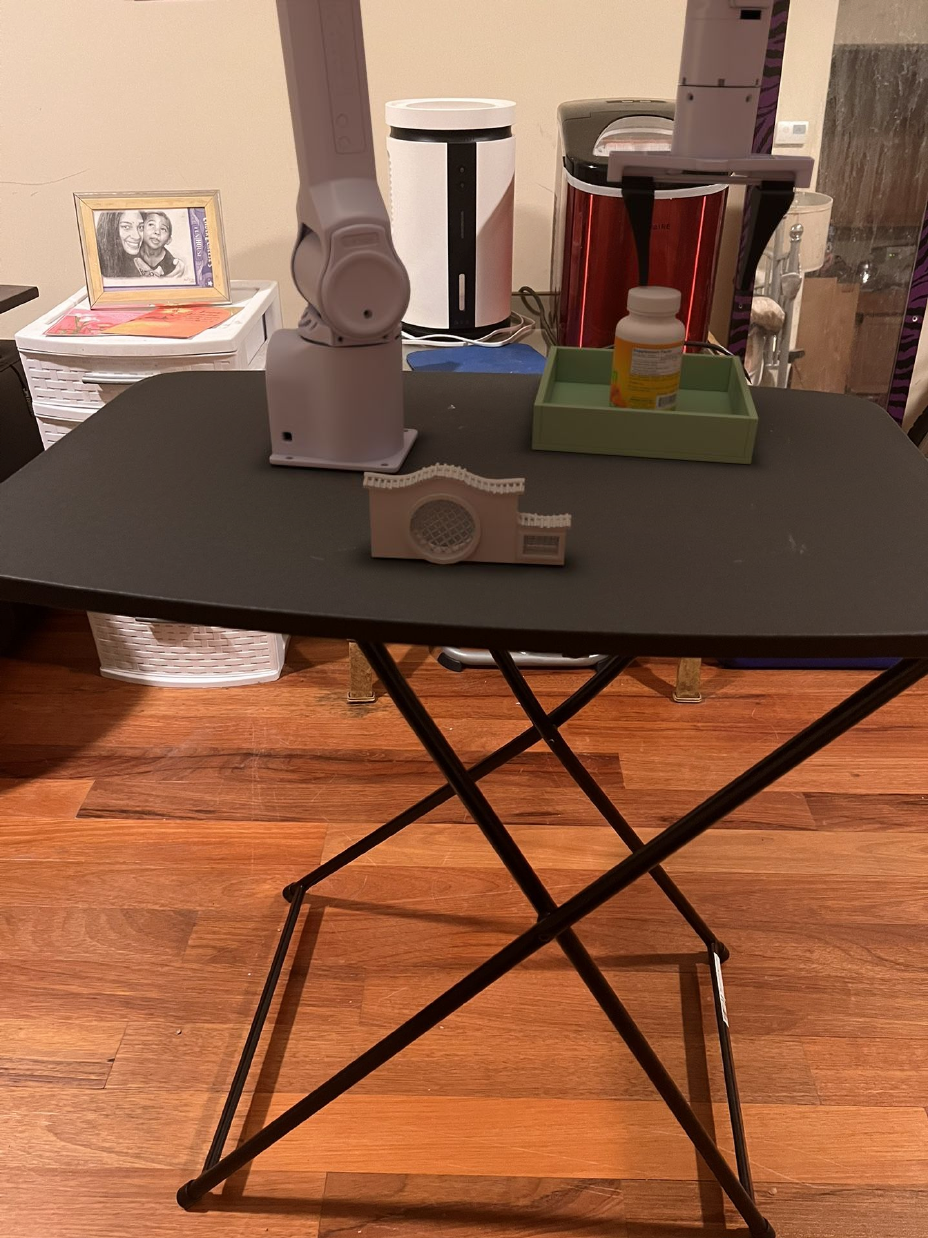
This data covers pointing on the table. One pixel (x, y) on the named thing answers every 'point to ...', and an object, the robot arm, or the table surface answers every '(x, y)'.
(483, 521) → the garden wall model
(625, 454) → the basket
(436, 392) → the table surface
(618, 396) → the supplement bottle
